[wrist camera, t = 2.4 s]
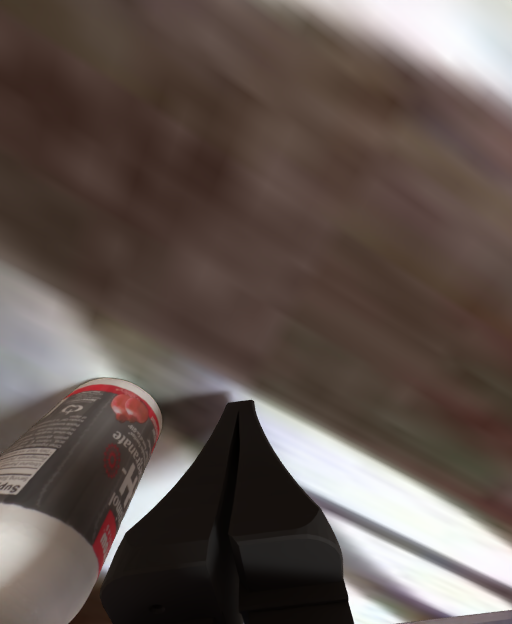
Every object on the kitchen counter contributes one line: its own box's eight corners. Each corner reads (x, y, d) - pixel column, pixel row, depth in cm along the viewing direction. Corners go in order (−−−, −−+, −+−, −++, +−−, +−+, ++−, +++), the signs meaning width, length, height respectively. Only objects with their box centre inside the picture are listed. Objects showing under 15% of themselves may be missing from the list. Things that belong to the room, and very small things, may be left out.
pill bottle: (180, 435, 14) (58, 799, 5) (101, 461, 15) (-144, 841, 6) (136, 361, 13) (-160, 697, 4) (49, 392, 13) (-423, 766, 4)
